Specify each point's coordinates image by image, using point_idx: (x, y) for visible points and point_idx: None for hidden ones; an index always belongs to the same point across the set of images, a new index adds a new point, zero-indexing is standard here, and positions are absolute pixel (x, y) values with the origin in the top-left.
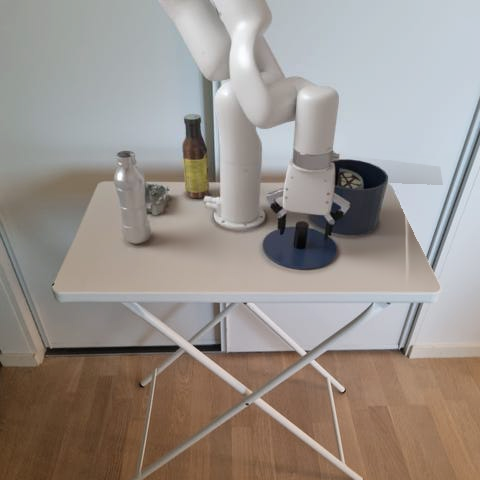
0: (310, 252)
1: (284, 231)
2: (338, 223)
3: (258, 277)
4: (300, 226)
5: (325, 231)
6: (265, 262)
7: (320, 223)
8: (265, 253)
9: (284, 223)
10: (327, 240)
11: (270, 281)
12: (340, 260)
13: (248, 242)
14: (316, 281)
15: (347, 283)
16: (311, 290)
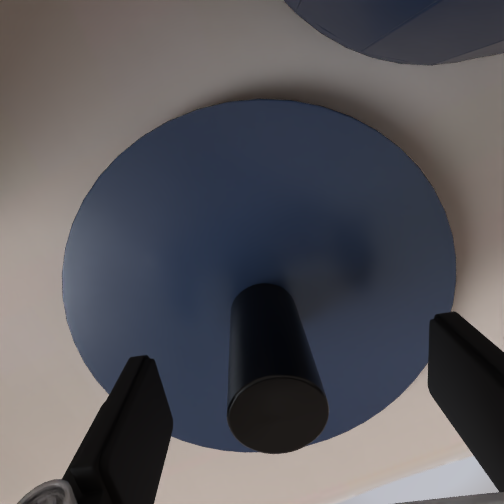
0: (329, 339)
1: (129, 215)
2: (498, 45)
3: (182, 496)
4: (275, 448)
5: (469, 444)
6: None
7: (325, 13)
8: None
9: (148, 456)
10: (398, 199)
11: (229, 497)
12: (462, 291)
13: (13, 338)
14: (379, 442)
15: None
16: (371, 483)
